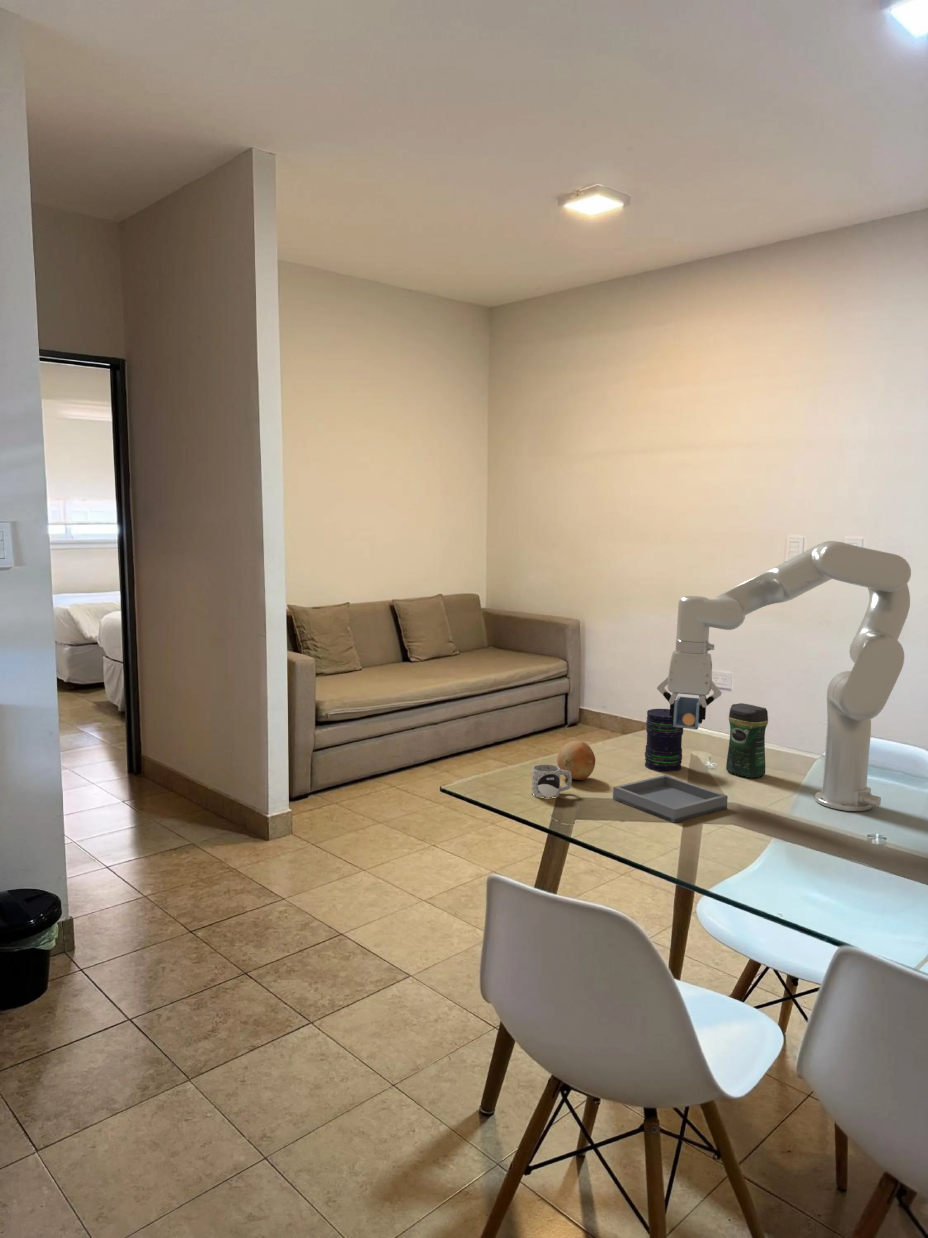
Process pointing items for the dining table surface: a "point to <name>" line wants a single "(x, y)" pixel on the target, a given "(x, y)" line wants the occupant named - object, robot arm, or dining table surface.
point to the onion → (576, 759)
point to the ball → (688, 719)
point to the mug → (548, 780)
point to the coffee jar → (747, 740)
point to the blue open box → (686, 711)
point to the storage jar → (662, 742)
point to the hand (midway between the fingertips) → (687, 720)
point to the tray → (670, 798)
